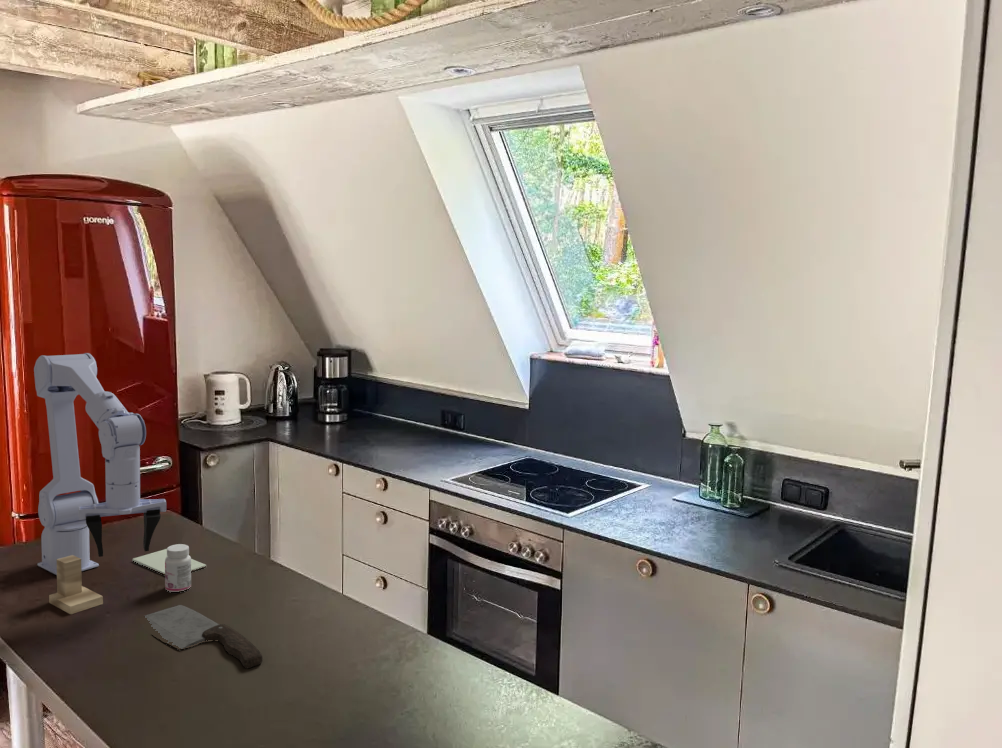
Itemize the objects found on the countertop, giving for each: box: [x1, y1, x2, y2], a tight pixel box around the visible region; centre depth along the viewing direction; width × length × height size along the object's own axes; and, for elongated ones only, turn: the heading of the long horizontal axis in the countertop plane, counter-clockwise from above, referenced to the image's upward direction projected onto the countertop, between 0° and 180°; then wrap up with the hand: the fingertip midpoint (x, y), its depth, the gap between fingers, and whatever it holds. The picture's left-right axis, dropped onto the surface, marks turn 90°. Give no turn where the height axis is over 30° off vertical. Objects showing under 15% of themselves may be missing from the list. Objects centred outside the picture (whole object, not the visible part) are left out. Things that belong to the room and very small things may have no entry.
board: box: [132, 548, 207, 574], centre depth 172 cm, size 14×8×1 cm, turn 55°
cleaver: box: [144, 604, 264, 669], centre depth 140 cm, size 29×10×2 cm, turn 51°
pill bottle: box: [164, 543, 192, 593], centre depth 160 cm, size 5×5×8 cm
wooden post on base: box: [48, 555, 104, 615], centre depth 151 cm, size 8×6×8 cm
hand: (123, 552), depth 151 cm, fingers open, 7 cm apart
